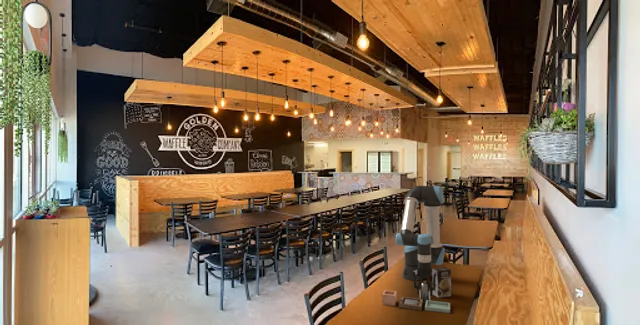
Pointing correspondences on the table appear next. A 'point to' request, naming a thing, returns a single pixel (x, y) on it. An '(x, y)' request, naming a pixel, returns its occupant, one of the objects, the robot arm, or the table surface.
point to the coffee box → (442, 282)
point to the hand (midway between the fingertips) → (424, 300)
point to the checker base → (414, 307)
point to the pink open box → (389, 297)
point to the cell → (424, 291)
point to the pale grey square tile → (411, 302)
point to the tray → (437, 306)
